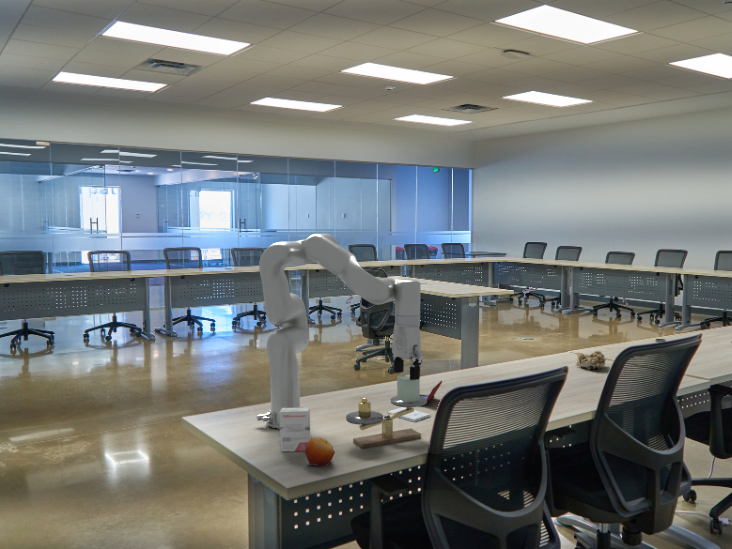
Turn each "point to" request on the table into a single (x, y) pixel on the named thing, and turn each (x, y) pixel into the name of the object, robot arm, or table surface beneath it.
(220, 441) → the table surface
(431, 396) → the handheld game console
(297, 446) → the ink box
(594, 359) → the mineral formation
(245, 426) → the table surface
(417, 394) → the sage block
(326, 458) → the fruit
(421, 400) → the balance
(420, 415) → the external hard drive
